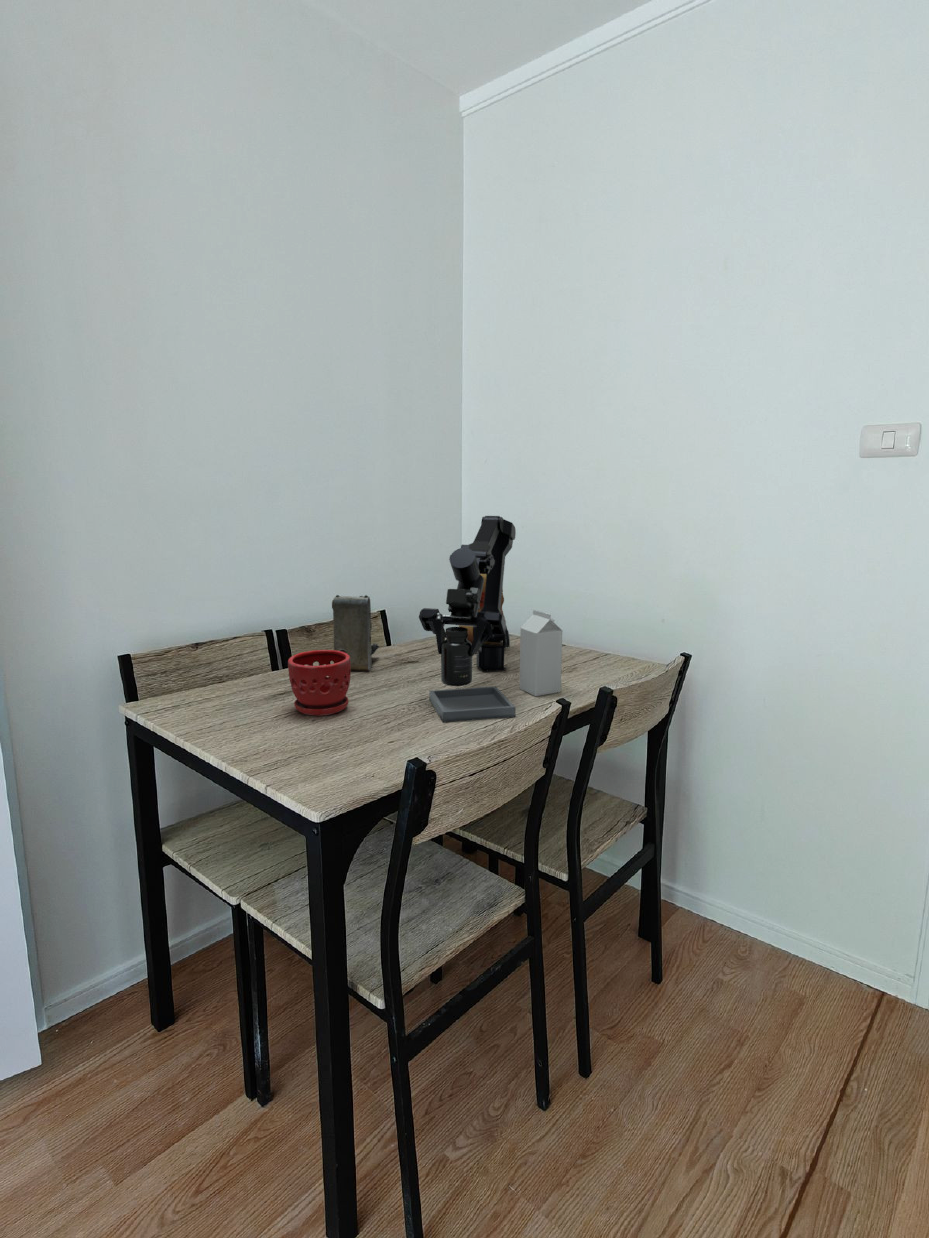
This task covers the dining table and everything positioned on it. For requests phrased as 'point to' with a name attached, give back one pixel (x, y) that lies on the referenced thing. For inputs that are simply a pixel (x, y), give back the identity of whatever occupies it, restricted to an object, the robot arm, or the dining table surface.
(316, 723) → the dining table surface
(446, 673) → the supplement bottle
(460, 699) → the charcoal tray
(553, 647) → the milk carton
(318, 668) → the plant pot
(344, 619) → the vintage camera
